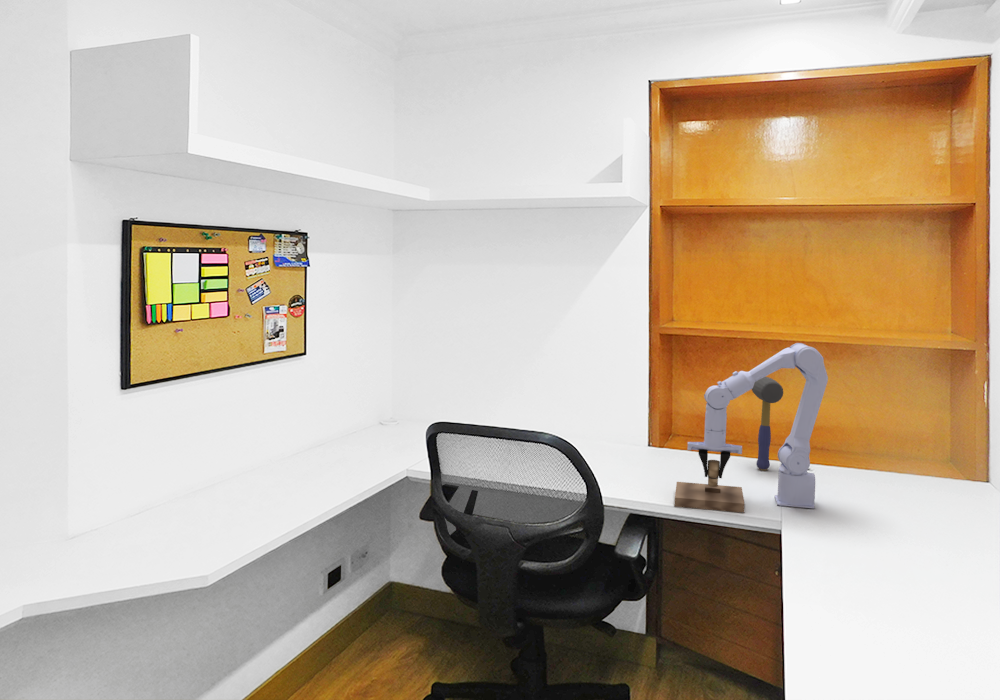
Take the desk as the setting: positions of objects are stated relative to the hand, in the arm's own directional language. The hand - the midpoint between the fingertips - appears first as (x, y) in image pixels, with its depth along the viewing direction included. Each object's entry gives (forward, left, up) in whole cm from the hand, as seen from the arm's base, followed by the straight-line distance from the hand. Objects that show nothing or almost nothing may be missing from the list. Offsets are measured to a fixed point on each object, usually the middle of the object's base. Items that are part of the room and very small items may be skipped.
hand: (713, 476), depth 201 cm
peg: (0, 0, -3) cm, 3 cm away
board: (+1, +2, -6) cm, 7 cm away
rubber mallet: (-16, -35, -7) cm, 39 cm away
